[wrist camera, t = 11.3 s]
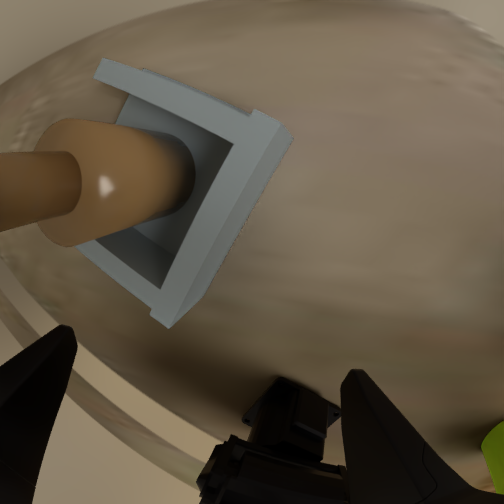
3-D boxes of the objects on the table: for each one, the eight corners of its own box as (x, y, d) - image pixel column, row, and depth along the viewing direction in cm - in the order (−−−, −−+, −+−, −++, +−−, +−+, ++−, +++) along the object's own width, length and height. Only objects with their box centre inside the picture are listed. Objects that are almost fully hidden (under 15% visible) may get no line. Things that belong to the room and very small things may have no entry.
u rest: (293, 138, 18) (281, 122, 13) (203, 296, 23) (169, 328, 17) (150, 71, 19) (106, 50, 14) (88, 213, 24) (41, 223, 18)
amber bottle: (172, 232, 21) (-19, 322, 7) (113, 191, 21) (-69, 231, 7) (211, 156, 19) (-8, 149, 5) (144, 119, 19) (-53, 96, 5)
